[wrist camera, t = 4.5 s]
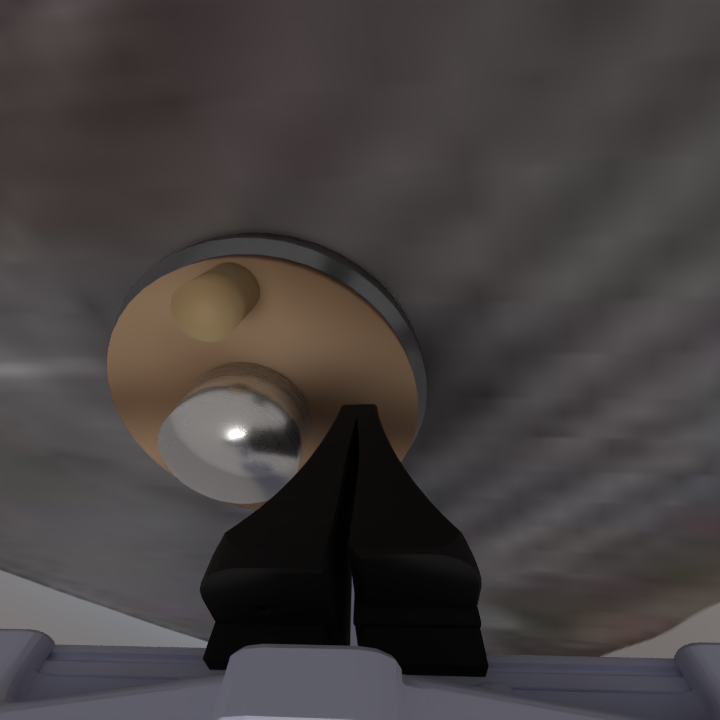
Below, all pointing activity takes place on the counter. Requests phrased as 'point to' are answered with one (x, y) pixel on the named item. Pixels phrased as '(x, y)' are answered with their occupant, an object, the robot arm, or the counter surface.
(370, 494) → the robot arm
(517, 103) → the counter surface
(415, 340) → the turntable base
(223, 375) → the cover puck
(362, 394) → the turntable
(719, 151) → the counter surface
